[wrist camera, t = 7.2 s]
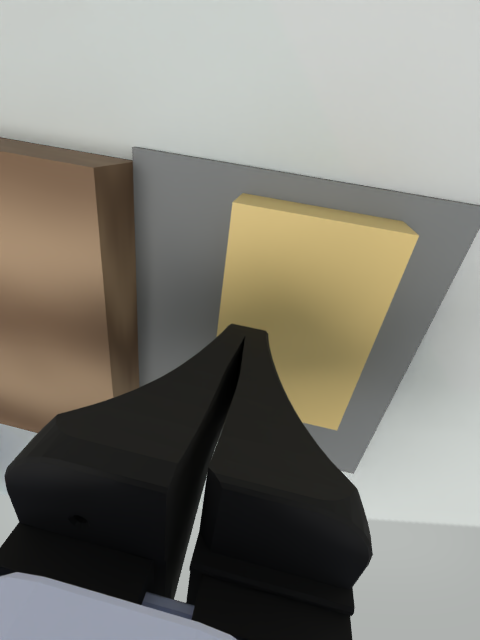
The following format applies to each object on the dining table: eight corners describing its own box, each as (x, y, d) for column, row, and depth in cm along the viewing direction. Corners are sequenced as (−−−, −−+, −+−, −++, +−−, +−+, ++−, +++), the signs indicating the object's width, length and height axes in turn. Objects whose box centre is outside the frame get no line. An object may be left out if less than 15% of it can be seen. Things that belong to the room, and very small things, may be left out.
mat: (352, 469, 19) (353, 473, 19) (142, 418, 20) (140, 421, 20) (486, 206, 11) (489, 208, 11) (136, 147, 13) (132, 147, 12)
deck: (142, 412, 20) (117, 453, 17) (-7, 376, 21) (-51, 410, 18) (136, 161, 13) (93, 167, 10) (-91, 121, 14) (-182, 118, 11)
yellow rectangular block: (209, 400, 15) (218, 374, 17) (337, 430, 15) (333, 399, 16) (232, 202, 11) (242, 193, 12) (419, 235, 10) (402, 221, 12)
